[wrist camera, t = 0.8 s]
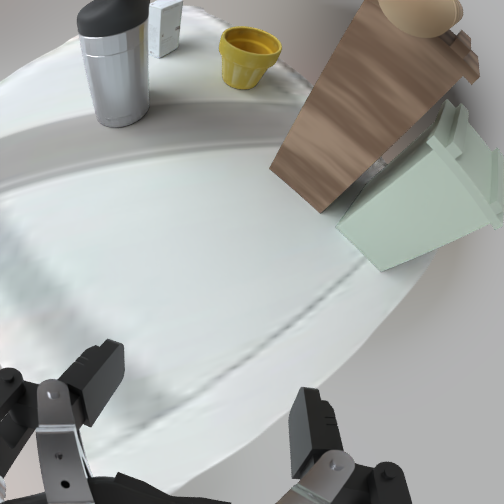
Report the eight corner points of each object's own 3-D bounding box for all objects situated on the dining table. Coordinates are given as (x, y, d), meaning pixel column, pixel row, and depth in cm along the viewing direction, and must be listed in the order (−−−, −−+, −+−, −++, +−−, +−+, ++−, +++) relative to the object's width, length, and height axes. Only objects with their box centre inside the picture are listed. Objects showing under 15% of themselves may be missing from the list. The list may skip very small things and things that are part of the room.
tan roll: (435, 52, 10) (466, -2, 6) (367, 12, 10) (390, -44, 6) (455, 30, 18) (468, 6, 14) (423, 9, 19) (435, -15, 15)
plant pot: (273, 76, 48) (289, 39, 39) (257, 103, 45) (273, 62, 36) (225, 58, 47) (235, 20, 38) (203, 84, 44) (210, 41, 35)
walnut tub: (325, 218, 41) (488, 68, 12) (263, 164, 41) (366, -27, 12) (358, 174, 45) (483, 50, 16) (305, 129, 46) (399, -18, 17)
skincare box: (159, 59, 44) (162, 9, 33) (143, 53, 44) (144, 5, 32) (179, 47, 46) (185, 0, 35) (164, 41, 46) (167, -4, 35)
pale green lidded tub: (384, 276, 41) (510, 222, 19) (330, 222, 41) (441, 128, 19) (409, 226, 45) (509, 165, 23) (362, 178, 45) (452, 93, 24)
